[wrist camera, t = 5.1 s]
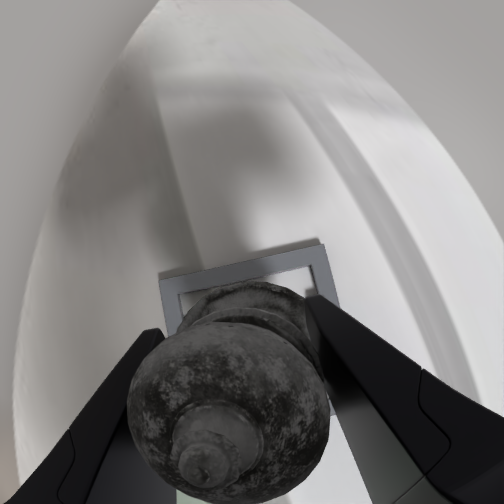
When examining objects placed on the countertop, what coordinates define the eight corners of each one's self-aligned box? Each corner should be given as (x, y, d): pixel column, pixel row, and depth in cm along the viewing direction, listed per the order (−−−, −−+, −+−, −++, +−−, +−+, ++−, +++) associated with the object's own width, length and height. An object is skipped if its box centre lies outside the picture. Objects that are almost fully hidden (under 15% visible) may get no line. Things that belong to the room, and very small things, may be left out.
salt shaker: (225, 272, 15) (90, 93, 3) (340, 321, 14) (556, 282, 2) (174, 383, 13) (-38, 476, 2) (288, 433, 13) (325, 649, 1)
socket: (358, 405, 16) (362, 408, 15) (195, 438, 16) (192, 442, 15) (322, 245, 18) (324, 242, 18) (161, 281, 18) (156, 279, 18)
